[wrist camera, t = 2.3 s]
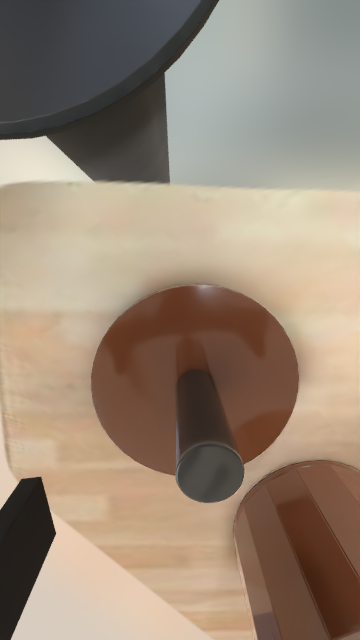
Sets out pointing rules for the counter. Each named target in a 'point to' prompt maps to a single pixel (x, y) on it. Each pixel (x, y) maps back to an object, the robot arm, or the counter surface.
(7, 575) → the robot arm
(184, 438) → the crock lid
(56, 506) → the counter surface
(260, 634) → the crock
